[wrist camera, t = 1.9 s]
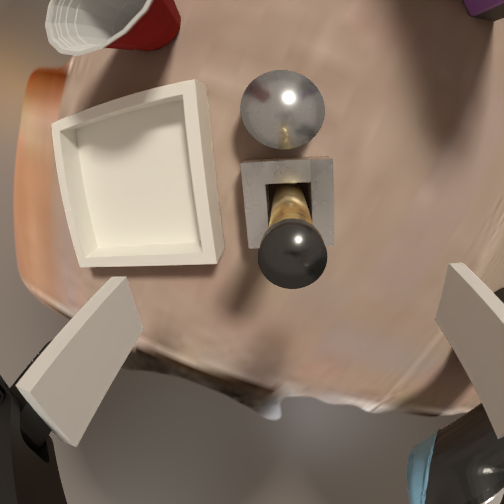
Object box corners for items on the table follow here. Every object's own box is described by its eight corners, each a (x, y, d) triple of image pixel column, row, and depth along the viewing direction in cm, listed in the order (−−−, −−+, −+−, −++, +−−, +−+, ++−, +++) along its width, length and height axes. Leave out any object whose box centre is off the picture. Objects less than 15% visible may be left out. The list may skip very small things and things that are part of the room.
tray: (225, 247, 31) (217, 263, 27) (97, 253, 33) (80, 267, 29) (206, 85, 24) (194, 79, 21) (73, 122, 27) (51, 123, 23)
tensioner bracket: (329, 234, 29) (334, 247, 26) (252, 237, 30) (248, 250, 27) (321, 76, 23) (326, 69, 20) (237, 81, 24) (230, 74, 21)
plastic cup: (117, 87, 25) (41, 78, 14) (111, 11, 21) (46, -18, 10) (212, 57, 23) (166, 16, 12) (199, -21, 19) (158, -78, 8)
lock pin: (307, 214, 29) (326, 287, 15) (271, 216, 29) (260, 289, 16) (306, 179, 27) (327, 224, 14) (269, 180, 28) (255, 227, 14)
